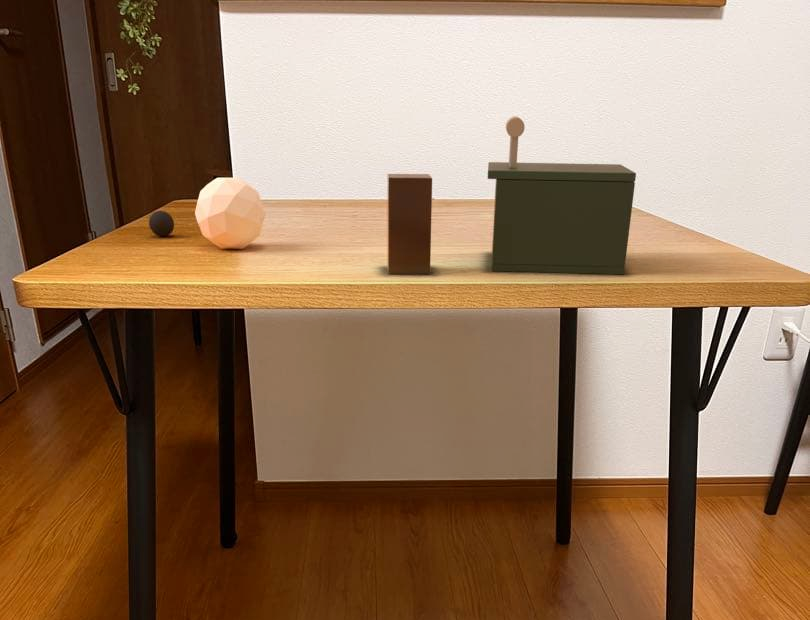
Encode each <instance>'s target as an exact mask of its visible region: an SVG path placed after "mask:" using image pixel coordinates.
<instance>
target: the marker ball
mask: <svg viewBox="0 0 810 620" xmlns="http://www.w3.org/2000/svg"><path fill="white" fill-rule="evenodd" d="M148 227H149V229H150V230H151V232H152V233H153V234H154V235H155V236H157V237H168V236H170V234H172V233H173V231H174V229H175V221H174V218H173V216H172V215H171V214H170V213H169V212H167V211H166V210H165V211H164V210H156V211H154V212H153V213H151V215H150V217H149V219H148Z"/></svg>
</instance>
